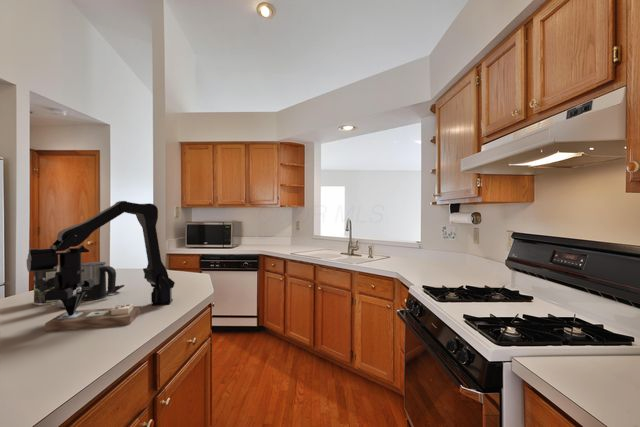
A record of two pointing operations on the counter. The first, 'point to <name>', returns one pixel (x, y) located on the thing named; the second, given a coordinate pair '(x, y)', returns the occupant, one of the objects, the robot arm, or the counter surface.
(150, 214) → the robot arm
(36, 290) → the coffee can
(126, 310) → the tile
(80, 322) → the board
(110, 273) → the milk frother
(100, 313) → the tile
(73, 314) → the tile
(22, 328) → the counter surface
